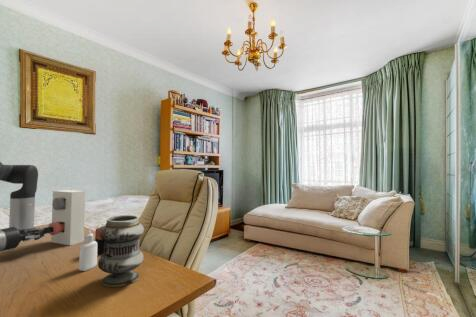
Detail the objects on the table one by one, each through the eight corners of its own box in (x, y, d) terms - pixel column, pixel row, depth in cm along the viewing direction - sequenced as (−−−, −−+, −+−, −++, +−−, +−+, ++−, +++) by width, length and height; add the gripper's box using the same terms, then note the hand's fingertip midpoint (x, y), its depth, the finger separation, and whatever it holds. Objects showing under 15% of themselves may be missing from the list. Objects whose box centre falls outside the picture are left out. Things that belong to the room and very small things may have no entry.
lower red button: (55, 235, 100) (56, 223, 100) (47, 234, 102) (48, 222, 102) (72, 231, 106) (72, 220, 107) (64, 230, 108) (65, 219, 108)
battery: (117, 250, 96) (118, 225, 96) (98, 255, 91) (99, 228, 91) (113, 248, 99) (113, 223, 99) (94, 252, 94) (95, 226, 94)
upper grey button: (60, 210, 102) (60, 198, 102) (52, 209, 103) (52, 197, 104) (76, 208, 108) (76, 196, 108) (68, 207, 110) (69, 196, 110)
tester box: (70, 245, 102) (71, 192, 103) (51, 242, 106) (52, 191, 107) (83, 241, 107) (85, 191, 108) (65, 238, 112) (66, 189, 113)
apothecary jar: (113, 294, 64) (115, 224, 64) (88, 282, 70) (90, 218, 71) (151, 276, 74) (153, 216, 74) (127, 267, 80) (128, 212, 81)
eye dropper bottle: (100, 267, 81) (101, 230, 81) (80, 272, 76) (82, 233, 77) (94, 263, 83) (96, 227, 84) (75, 268, 79) (77, 231, 79)
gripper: (10, 231, 83) (63, 221, 99) (-12, 227, 87) (41, 218, 104) (9, 254, 82) (62, 240, 98) (-13, 249, 87) (41, 236, 103)
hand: (51, 229), depth 101 cm, fingers closed
